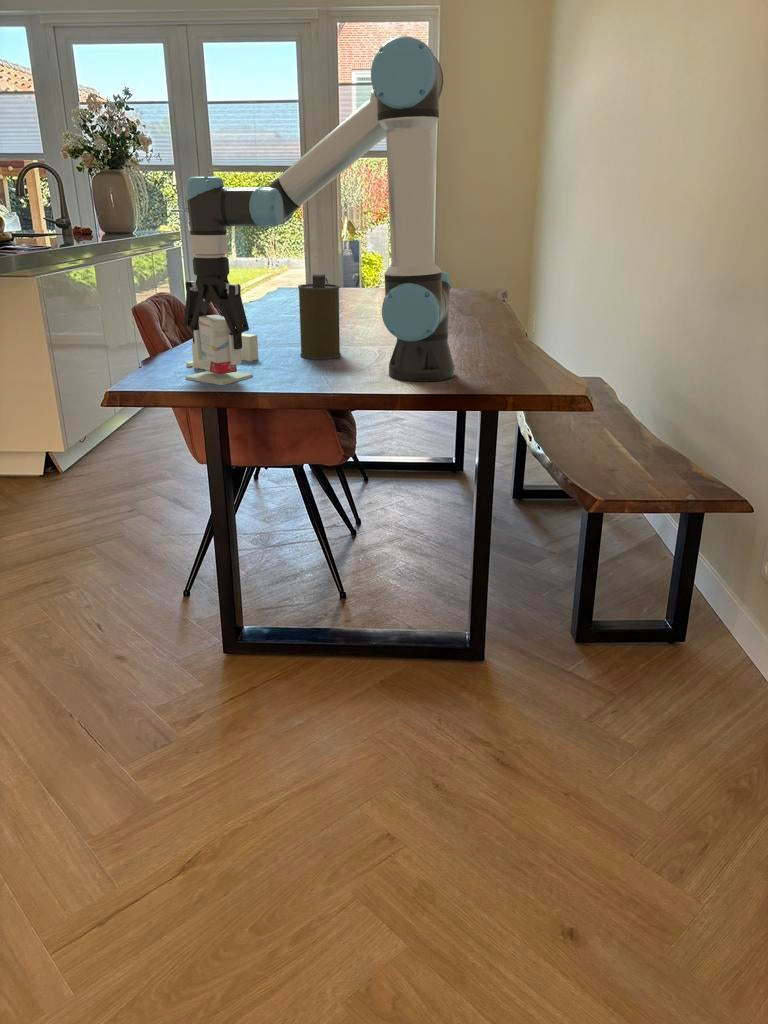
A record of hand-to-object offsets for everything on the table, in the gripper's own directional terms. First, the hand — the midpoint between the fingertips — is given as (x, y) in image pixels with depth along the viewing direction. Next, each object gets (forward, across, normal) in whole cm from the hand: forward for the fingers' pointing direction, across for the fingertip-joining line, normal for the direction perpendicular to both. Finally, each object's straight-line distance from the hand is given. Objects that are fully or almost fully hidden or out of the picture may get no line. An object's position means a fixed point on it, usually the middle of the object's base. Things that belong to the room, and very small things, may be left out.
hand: (218, 361), depth 170 cm
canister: (+4, -3, -34) cm, 34 cm away
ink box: (+2, 0, 0) cm, 2 cm away
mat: (+4, 0, 0) cm, 4 cm away
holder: (+4, +11, -13) cm, 17 cm away
